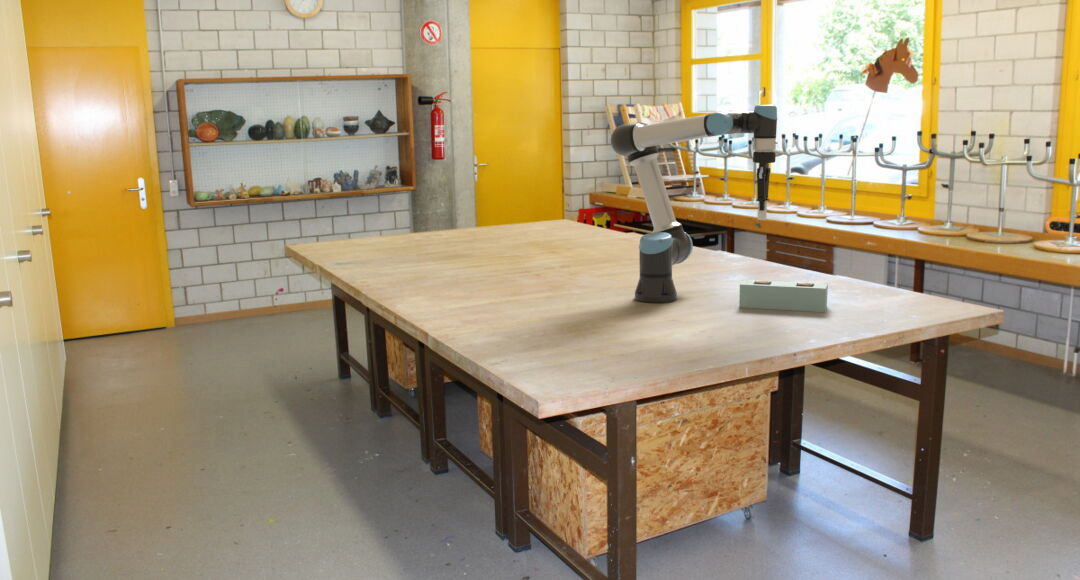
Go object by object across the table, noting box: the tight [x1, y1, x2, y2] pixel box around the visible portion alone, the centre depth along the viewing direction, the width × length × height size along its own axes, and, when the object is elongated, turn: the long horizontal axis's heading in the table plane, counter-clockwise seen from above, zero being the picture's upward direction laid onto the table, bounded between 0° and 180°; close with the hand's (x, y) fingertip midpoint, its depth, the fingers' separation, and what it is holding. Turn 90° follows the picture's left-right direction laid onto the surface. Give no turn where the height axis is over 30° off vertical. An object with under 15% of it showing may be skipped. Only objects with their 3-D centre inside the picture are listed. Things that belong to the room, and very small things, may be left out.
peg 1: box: [756, 280, 770, 285], centre depth 306 cm, size 5×5×8 cm
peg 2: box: [798, 282, 812, 287], centre depth 301 cm, size 5×5×8 cm
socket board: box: [738, 279, 829, 313], centre depth 304 cm, size 28×9×8 cm, turn 69°
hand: (762, 219), depth 310 cm, fingers closed
